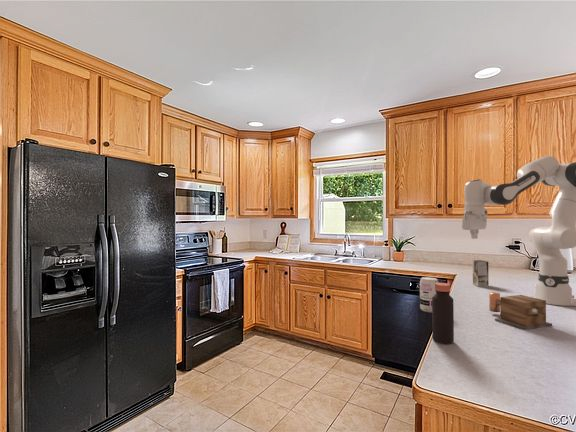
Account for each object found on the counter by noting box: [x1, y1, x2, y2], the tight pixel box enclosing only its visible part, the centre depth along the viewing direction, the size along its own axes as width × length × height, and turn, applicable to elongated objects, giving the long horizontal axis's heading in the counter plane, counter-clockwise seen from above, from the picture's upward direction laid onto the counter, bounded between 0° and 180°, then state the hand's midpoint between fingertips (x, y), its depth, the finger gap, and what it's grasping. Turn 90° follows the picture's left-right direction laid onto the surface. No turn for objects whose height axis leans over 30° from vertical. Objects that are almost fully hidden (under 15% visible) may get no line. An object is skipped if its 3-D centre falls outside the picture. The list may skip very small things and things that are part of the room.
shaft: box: [488, 291, 538, 315], centre depth 135 cm, size 4×20×8 cm, turn 18°
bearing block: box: [494, 294, 553, 331], centre depth 130 cm, size 16×12×10 cm
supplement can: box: [419, 276, 440, 313], centre depth 148 cm, size 8×8×15 cm
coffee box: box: [472, 259, 489, 288], centre depth 203 cm, size 9×6×16 cm
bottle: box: [431, 282, 455, 345], centre depth 111 cm, size 7×7×20 cm
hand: (474, 238), depth 161 cm, fingers closed
